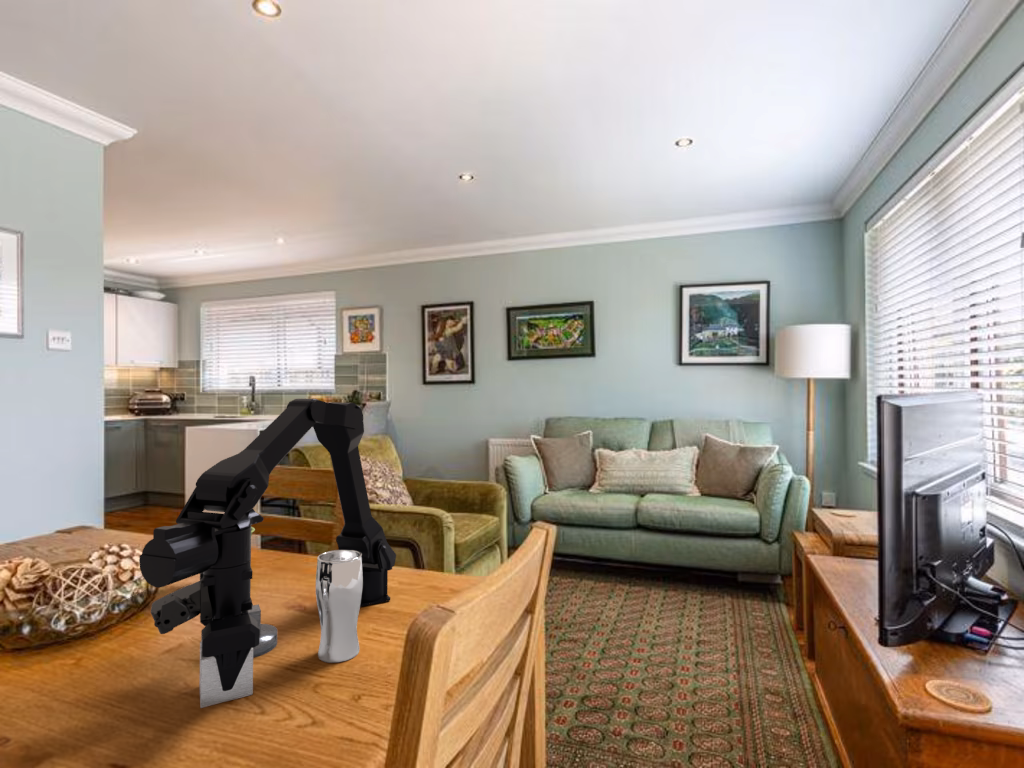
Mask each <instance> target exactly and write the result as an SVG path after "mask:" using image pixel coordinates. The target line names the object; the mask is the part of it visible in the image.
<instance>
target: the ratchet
mask: <svg viewBox="0 0 1024 768" xmlns="http://www.w3.org/2000/svg"><path fill="white" fill-rule="evenodd" d="M261 611H262V610H261V607H260V604H254V603H253V602H252V610H248V614H249V615H251V616H252V617H253V618H255V619H256V620H257V623H258V626H259V629H260V633H259V645H257V646H256V647H253V659H254V658H257V657H261V656H263V655H265V654H268V653H269V652H271V651H273V650H274V649H275V648H276V647H277V645H278V628H277V627H276V626H274V625H273V624H269V623H261V621H262V619H261V618H262V617H261V616H262V614H261Z"/></svg>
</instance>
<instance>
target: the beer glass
mask: <svg viewBox="0 0 1024 768" xmlns="http://www.w3.org/2000/svg"><path fill="white" fill-rule="evenodd" d="M316 560H317V562H316V571H315V597H316V605H317V611H318V617H319V622H320V623H319V624H320V640H319V641H320V642H319V646H318V647H319V648H318V653H317V658H318V659H319V660H321V661H322V662H324V663H328V664H329V663H331V664H333V663H334V664H335V663H343V662H346V661H349V660H352V659H353V658H355V657H356V656H357V655H358V654H359V652H360V642H359V637H358V619H359V614H360V608H361V607H360V604H361V598H362V590H363V568H362V553H361V552H359V551H356V550H339V549H335V550H334V549H333V550H329V551H326V552H323V553H320V554H319V555H318V556H317V559H316Z"/></svg>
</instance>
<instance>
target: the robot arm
mask: <svg viewBox="0 0 1024 768" xmlns="http://www.w3.org/2000/svg"><path fill="white" fill-rule="evenodd" d="M312 428H313V431H314V433H315V436H316V439H317V441H318V442H319V443H320V444H321V445H322V447H323V448H325V450H326V451H327V452H328V453H329V455H330V461H331V465H332V469H333V470H332V471H333V474H334V475H333V476H334V479H335V482H336V488H337V492H338V497H339V502H340V508H341V513H342V515H343V522H344V525H343V526H342V529H341V532H340V533H339V534H338V535H337V536H336V539H335V541H336V544H337V550H356V551H359V552H361V553H362V568H363V590H362V598H361V604H360V608H361V607H365V606H369V605H374V604H375V605H376V604H380V603H383V602H389V601H391V596H390V595H389V594H388V589H389V588H388V585H389V584H388V581H389V579H388V577H389V575H388V574H389V571H391V570H393V567H395V563H396V561H397V560H396V558H397V554H396V552H395V551H394V550H393V548H392V546H391V545H390V544H389V543H388V542H387V537H386V534H385V531H384V529H383V526H382V525H381V524H380V523H379V522H378V521H377V520H376V519H375V518H374V517H373V515H372V512H371V506H370V501H369V495H368V490H367V486H366V481H365V476H364V475H365V474H364V472H363V471H364V470H363V465H362V460H361V456H360V455H361V454H360V449H359V445H360V443H361V440H362V438H363V435H364V433H365V426H364V414H363V410H362V409H361V406H359V405H357V403H355V402H330V401H329V402H327V401H323V400H320V399H318V398H294V399H293V400H290V401H289V402H288V403H287V405H286V408H285V409H284V410H283V411H282V412H281V413H280V414H279V415H278V416H277V417H276V418H275V419H274V420H272V422H271V423H270V424H268V426H267V427H265V429H263V431H262V432H261V433H260V434H259V435H257V436H256V438H254V439H253V440H252V442H250V443H249V444H248V445H247V446H245V448H244V449H243V450H241V451H240V452H238V453H237V454H234V455H231V456H229V457H226V458H224V459H222V460H220V461H219V462H216V464H214V465H213V466H211V467H209V468H207V470H205V471H204V472H203V473H201V475H199V477H198V478H197V480H196V482H195V487H194V489H193V491H192V492H191V494H190V496H189V498H188V499H187V501H186V502H185V504H184V506H183V508H182V509H181V511H180V513H179V514H178V516H177V518H176V520H175V522H176V524H173V525H169V526H168V525H167V526H166V525H164V526H159V527H156V528H154V529H153V534H152V535H153V536H152V539H150V540H149V541H147V543H146V544H145V545H144V547H143V548H142V551H141V552H142V553H141V554H140V555H139V561H138V563H139V570H140V572H141V574H142V577H143V579H144V580H145V582H146V583H148V584H149V585H150V586H152V587H154V588H164V587H168V586H169V585H172V584H175V583H177V582H181V581H183V580H187V579H189V578H192V577H194V576H196V575H197V576H198V575H199V580H198V581H196V582H193V583H191V584H188V585H185V586H183V587H181V588H179V589H176V590H174V591H172V592H171V593H168V594H166V595H164V596H162V597H160V598H158V599H156V600H155V601H153V602H152V604H151V605H150V607H151V608H150V615H151V616H152V618H153V621H154V627H155V628H157V630H158V632H159V634H160V635H165V634H167V633H170V632H172V631H173V630H174V628H176V627H178V626H180V625H183V624H185V623H186V622H188V621H191V620H193V619H194V618H197V616H199V621H200V622H199V623H200V624H202V625H203V626H204V627H203V628H202V629H201V637H200V638H201V641H200V642H201V647H202V657H212V656H213V657H215V658H216V662H217V667H218V671H219V676H220V680H221V685H222V690H223V691H228V690H231V689H232V688H233V686H234V684H235V682H236V680H237V677H238V675H239V673H240V671H241V669H242V666H243V664H244V662H245V660H246V658H247V656H248V654H249V652H250V650H251V648H253V647H256V646H257V645H259V633H260V629H259V626H258V623H257V620H256V619H255V618H253V617H252V616H251V615H249V614H248V610H252V603H253V600H252V598H251V587H252V586H251V582H252V581H251V580H252V579H253V569H252V566H251V565H252V564H251V563H252V536H251V527H252V525H257V524H260V523H262V522H263V521H264V516H262V515H261V514H259V513H258V512H257V511H255V510H254V508H255V507H256V505H257V504H258V503H259V501H260V500H261V498H262V496H263V495H264V493H266V491H267V489H268V487H269V482H270V475H271V474H272V472H273V470H274V469H275V468H276V467H277V466H278V465H279V464H280V462H281V461H283V459H284V458H285V457H286V456H287V455H288V453H290V452H291V451H292V449H294V447H295V446H296V445H297V444H299V441H300V440H302V439H303V437H305V435H306V434H307V433H308V432H309V431H310V430H311V429H312ZM207 511H208V512H207ZM219 512H220V513H219Z"/></svg>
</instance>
